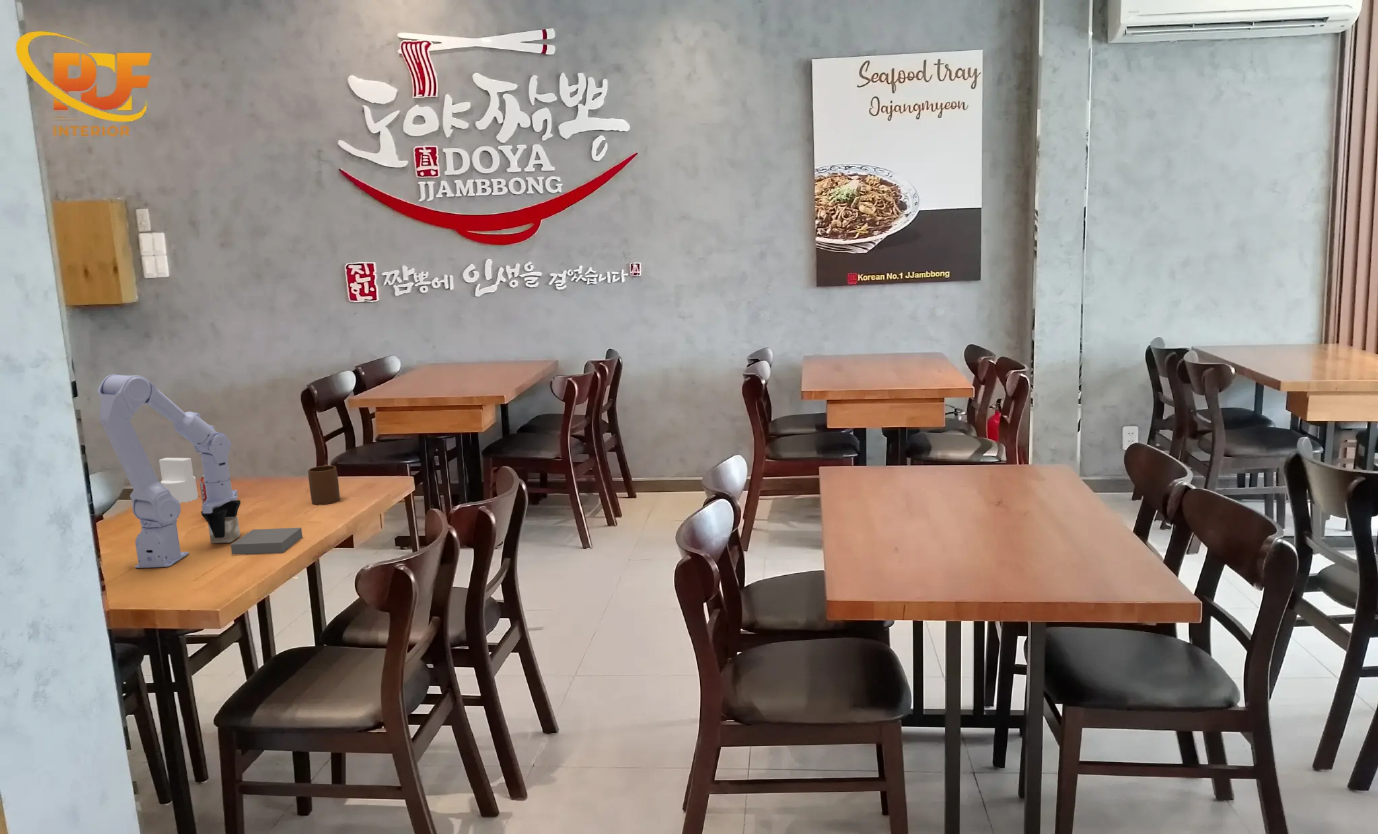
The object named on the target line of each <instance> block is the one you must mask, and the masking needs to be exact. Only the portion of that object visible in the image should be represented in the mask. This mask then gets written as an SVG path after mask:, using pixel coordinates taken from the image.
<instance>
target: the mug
mask: <svg viewBox="0 0 1378 834" xmlns="http://www.w3.org/2000/svg"><path fill="white" fill-rule="evenodd" d="M307 472H308V474H307V475H308V476H307V478H308V485H309V493H310V501H311V503H312V504H314V505H318V504H322V505H329V504H334V503H337V502H339V501H340V498H341V496H340V494H341V492H340V484H339V483H340V482H339V475H338V471H337V467H336V466H335V465H328V463H327V464H324V465H319V466H314V467H311V468H309V469H308V471H307ZM333 502H334V503H333Z"/></svg>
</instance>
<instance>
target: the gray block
mask: <svg viewBox="0 0 1378 834" xmlns="http://www.w3.org/2000/svg"><path fill="white" fill-rule="evenodd" d="M207 525H208V533H209V539H210V544H220V543H221V544H223V543H233V542H235V541H236V540H238V539H239V537H240V538H241V532H240V523H239V517H238V516H236V517H225V535H224V537H223V538H215V537H214V535H213V532H212V530H211V528H210V526H209V524H208V523H207Z"/></svg>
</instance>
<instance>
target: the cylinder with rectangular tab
mask: <svg viewBox="0 0 1378 834" xmlns="http://www.w3.org/2000/svg"><path fill="white" fill-rule="evenodd" d="M158 462H159V470H160V474H161V475H160V476H161V481H160V483H161V484H162V485H163V486H165V487H166V488H167V489H168V490H169V492H170V494H171V495H172V496H173V497H174V498H175V499H177V500H178V501H179V503H180V504H182V503H181V502H185V503H189V501H190V502H193V501H195V500H197V499H199V494H198V488H197V487H198V486H197V481H196V480H197V479H196V476H194V469H193V463H192V458H191V457H164V458H161V459H159V460H158ZM192 500H193V501H192Z"/></svg>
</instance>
